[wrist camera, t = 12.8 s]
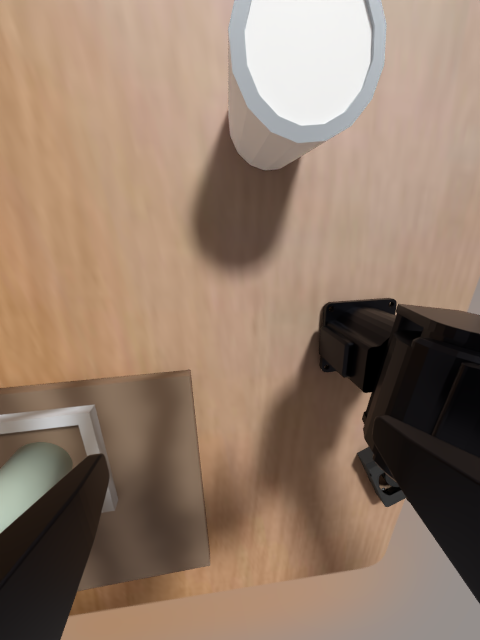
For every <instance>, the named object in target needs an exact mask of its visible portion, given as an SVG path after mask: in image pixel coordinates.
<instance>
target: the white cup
mask: <svg viewBox="0 0 480 640" xmlns="http://www.w3.org/2000/svg"><path fill="white" fill-rule="evenodd" d="M385 41H386V20H385V16H384V11H383V7H382V3H381V0H234V5H233V10H232V14H231V19H230V24H229V28H228V120H229V129H230V137H231V139H232V141H233V143H234V146H235V148H236V150H237V152H238V154H239V155H240V156H241V157H242V158H243V159H244V160H245V161H247V162H248V163H249V164H250V165H251V166H254V167H257V168H259V169H262V170H276V169H281V168H282V167H284V166H286V165H288V164H289V163H291V162H293V161H294V160H296V159H298V158H299V157H301V156H302V155H304V154H306V153H307V152H309V151H311V150H312V149H314V148H316V147H317V146H319V145H321V144H322V143H324V142H326V141H327V140H329V139H330V138H332V137H334V136H335V135H337V134H339V133H340V132H342V131H344V130H345V129H347V128H349V127H350V126H352V124H353V123H354V122H355V120H356V119H357V118H358V117H359V115H360V114H361V113H362V111H363V110H364V109H365V107H366V106H367V105H368V104H369V102H370V101H371V100H372V97H373V94H374V92H375V89H376V86H377V83H378V80H379V77H380V75H381V72H382V69H383V66H384V59H385Z"/></svg>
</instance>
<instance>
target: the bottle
mask: <svg viewBox="0 0 480 640" xmlns="http://www.w3.org/2000/svg"><path fill="white" fill-rule="evenodd" d="M72 468H73V462H72V459H71V457H70V455H69V454H68V453H67V452H66V451H65V450H64V449H63V448H61V447H59V446H57V445H55V444H51V443H47V442H34V443H30V444H27V445H24V446H22V447H21V448H19V449H18V450H17V451H16V452H15V453H14V454H13V456H12V457H11V458H10V459H9V460H8V461H7V462H6V463H5V464H4V465H3V467H2V468H1V469H0V533H1V532H2V531H3V530H4V529H6V528H7V527H8V526H9V525H10V524H11V523H12V522H13V521H15V520H16V519H17V518H18V517H19V516H20V515H21V514H23V513H24V512H25V511H26V510H27V509H28V508H29V507H30V506H32V505H33V504H34V503H35V502H36V501H37V500H38V499H39V498H41V497H42V496H43V495H44V494H45V493H46V492H47V491H48V490H50V489H51V488H52V487H53V486H54V485H55V484H56V483H58V482H59V481H60V480H61V479H62V478H63V477H64V476H65V475H67V474H68V473H69V472H70V471H71V470H72Z"/></svg>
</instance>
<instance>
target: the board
mask: <svg viewBox="0 0 480 640" xmlns="http://www.w3.org/2000/svg"><path fill="white" fill-rule="evenodd" d="M34 442H47V443H51V444H55V445H57V446H59V447H61V448H63V449H64V450H65V451H66V452H67V453H68V454H69V455H70V457H71V459H72V462H73V468H74V467H76V466H77V465H78V464H79V463H80V462H81V461H82V460H83V459H85V458H86V457H87V456H89V455H91V454H99V453H103V454H104V455H105V457H106V461H107V465H108V469H109V473H110V479H109V484H108V488H107V492H106V496H105V500H104V504H103V508H102V513H101V517H100V521H99V525H98V529H97V532H96V536H95V540H94V543H93V546H92V549H91V552H90V555H89V558H88V561H87V564H86V567H85V570H84V573H83V576H82V578H81V581H80V584H79V587H78V590H77V591H81V590H86V589H91V588H96V587H102V586H107V585H112V584H117V583H122V582H127V581H133V580H138V579H143V578H148V577H153V576H158V575H163V574H169V573H174V572H179V571H184V570H189V569H194V568H200V567H205V566H210V550H209V540H208V531H207V522H206V512H205V503H204V494H203V484H202V475H201V466H200V456H199V447H198V437H197V428H196V419H195V409H194V400H193V391H192V381H191V372H190V370H185V371H174V372H164V373H154V374H143V375H133V376H123V377H113V378H102V379H92V380H82V381H71V382H61V383H51V384H40V385H30V386H20V387H9V388H0V469H1V468H2V467H3V465H4V464H5V463H6V462H7V461H8V460H9V459H10V458H11V457H12V456H13V454H14V453H15V452H16V451H17V450H18V449H19V448H21V447H22V446H24V445H27V444H30V443H34ZM73 468H72V469H73Z"/></svg>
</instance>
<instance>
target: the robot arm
mask: <svg viewBox="0 0 480 640" xmlns="http://www.w3.org/2000/svg"><path fill="white" fill-rule="evenodd" d="M390 302H391V304H390V305H389V303H390ZM330 306H332V309H331V310H330V311H329V307H330ZM395 310H396V313H397V315H395ZM319 354H320V355H321V356H320V368H321V369H322V371H324V372H333V371H337V372H339V373H340V374H341V375H342V376H343V377H344V378H346V377H348V378H349V379H350V380H351V381H352V382H353V383H354V384H355V385H357V386H358V387H359V388H360V389H361V390H362V391H363V392H364V393H368V392H372V394H371V397H370V400H369V403H368V407H367V410H366V412H364V414H363V417H362V420H363V422H364V428H363V431H364V438H365V440H366V442H367V444H368V446H369V447H370V449H371V451H372V452H373V453H374V454H373V456H372V457H373V460H374V461H375V463H376V464H377V465H378V466H379V467H380V468H381V469H382V470H383V471H384V472H385V473H386V474H387V475H388V476H389V477H390V478H392V479H393V480H394V481H395V482H396V483H397V484H398V485H399V487H400V489H401V490H402V492H403V493H404V495H405V496H406V499H407V500H408V501H409V502H410V503H411V505H412V506H413V508H414V509H415V511H416V512H417V513H418V515H419V516H420V518H421V519H422V521H423V522H424V524H425V525H426V527H427V528H428V529H429V531H430V532H431V534H432V535H433V537H434V538H435V540H436V541H437V542H438V544H439V545H440V547H441V548H442V550H443V551H444V553H445V554H446V555H447V557H448V558H449V560H450V561H451V563H452V564H453V566H454V567H455V568H456V570H457V571H458V573H459V574H460V576H461V577H462V579H463V580H464V582H465V583H466V585H467V586H468V587H469V589H470V590H471V592H472V593H473V595H474V596H475V598H476V599H477V600H478V602H479V603H480V315H477V314H472V313H468V312H464V311H459V310H450V309H441V308H432V307H422V306H413V305H404V304H398V306H397V309H396V300H394V299H391V298H383V299H368V300H354V301H339V302H328V303H327V304H325V306H324V313H323V326H322V327H321V329H320V344H319ZM325 365H327V367H325ZM324 367H325V368H324ZM109 479H110V473H109V469H108V465H107V461H106V457H105V455H104V454H103V453H99V454H91V455H89V456H87V457H86V458H85V459H83V460H82V461H81V462H80V463H79V464H78V465H77V466H76V467H74V468H73V469H72V470H71V471H70V472H69V473H68V474H67V475H65V476H64V477H63V478H62V479H61V480H60V481H59V482H58V483H56V484H55V485H54V486H53V487H52V488H51V489H50V490H48V491H47V492H46V493H45V494H44V495H43V496H42V497H41V498H39V499H38V500H37V501H36V502H35V503H34V504H33V505H32V506H30V507H29V508H28V509H27V510H26V511H25V512H24V513H23V514H21V515H20V516H19V517H18V518H17V519H16V520H15V521H13V522H12V523H11V524H10V525H9V526H8V527H7V528H6V529H4V530H3V531H2V532H1V533H0V640H60V639H61V636H62V633H63V631H64V628H65V625H66V622H67V619H68V616H69V613H70V610H71V607H72V604H73V602H74V599H75V596H76V593H77V590H78V587H79V584H80V581H81V578H82V576H83V573H84V570H85V567H86V564H87V561H88V558H89V555H90V552H91V549H92V546H93V543H94V540H95V536H96V532H97V529H98V525H99V521H100V517H101V513H102V508H103V504H104V500H105V496H106V492H107V488H108V484H109Z"/></svg>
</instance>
